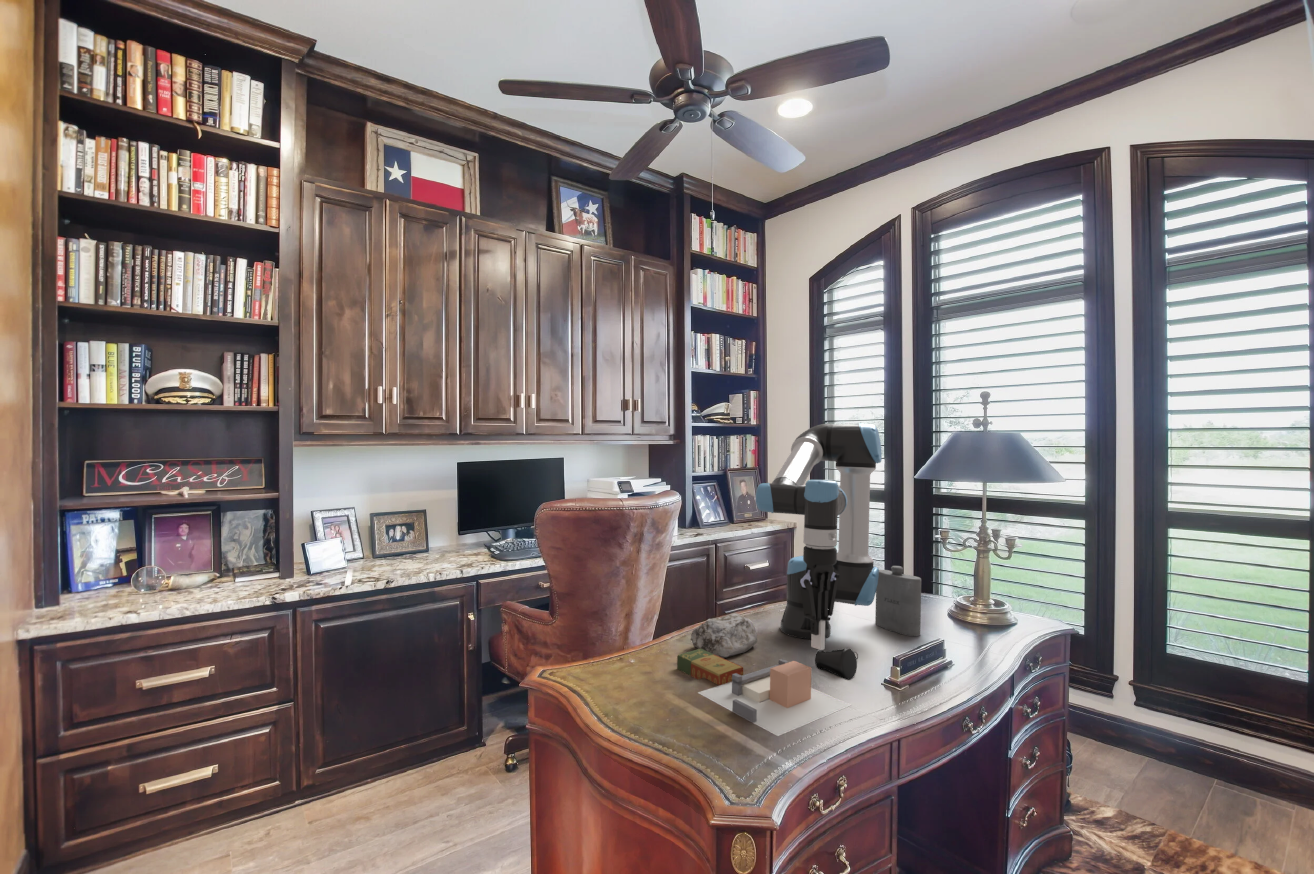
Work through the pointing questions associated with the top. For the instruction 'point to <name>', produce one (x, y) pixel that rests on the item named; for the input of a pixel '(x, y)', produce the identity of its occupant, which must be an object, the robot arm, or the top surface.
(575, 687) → the top surface
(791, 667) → the block
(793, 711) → the board
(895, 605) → the flask
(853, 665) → the black tapered cylinder
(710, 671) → the carton
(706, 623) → the decorative stone
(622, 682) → the top surface
